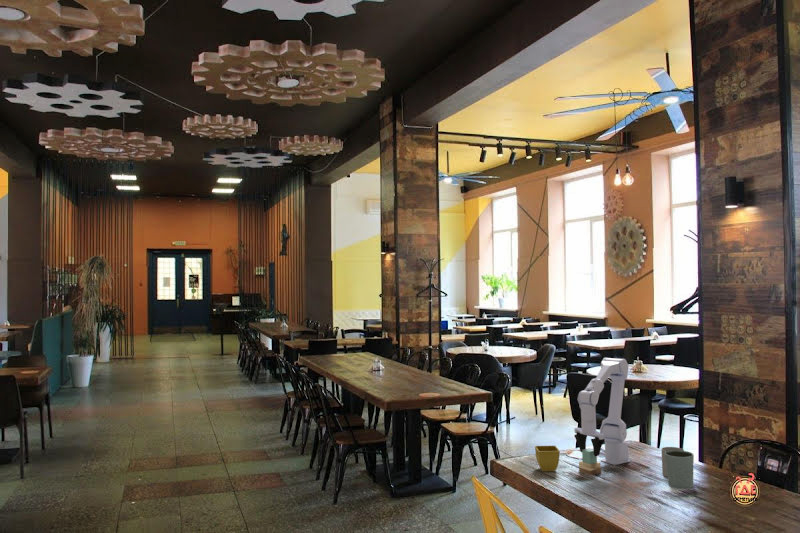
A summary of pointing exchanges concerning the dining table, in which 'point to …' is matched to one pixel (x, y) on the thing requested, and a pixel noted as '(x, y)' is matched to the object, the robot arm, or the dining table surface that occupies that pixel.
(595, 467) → the oak slab
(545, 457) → the flower pot
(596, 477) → the dining table surface
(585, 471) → the walnut slab
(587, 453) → the teal block
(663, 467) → the cup
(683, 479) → the grey-green embossed container
